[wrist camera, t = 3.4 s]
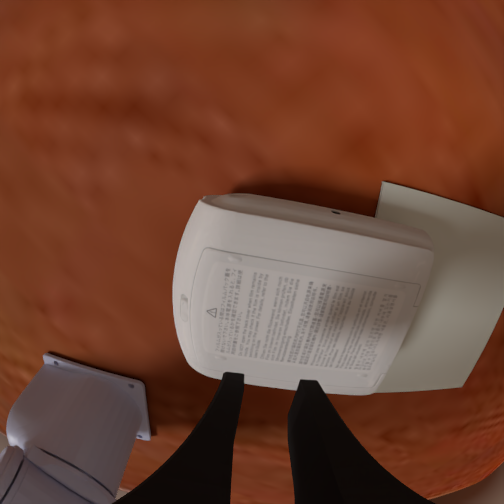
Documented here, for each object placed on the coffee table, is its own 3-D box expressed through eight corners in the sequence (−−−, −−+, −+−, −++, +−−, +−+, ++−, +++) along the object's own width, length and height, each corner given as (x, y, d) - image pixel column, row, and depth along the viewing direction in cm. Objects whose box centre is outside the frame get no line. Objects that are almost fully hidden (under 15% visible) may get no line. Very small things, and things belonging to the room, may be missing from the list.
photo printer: (411, 218, 16) (193, 179, 16) (448, 242, 12) (167, 192, 12) (362, 361, 20) (182, 337, 20) (376, 405, 16) (164, 380, 16)
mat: (320, 389, 21) (321, 391, 21) (382, 181, 16) (384, 181, 15) (460, 384, 21) (461, 387, 21) (528, 226, 16) (530, 228, 16)
